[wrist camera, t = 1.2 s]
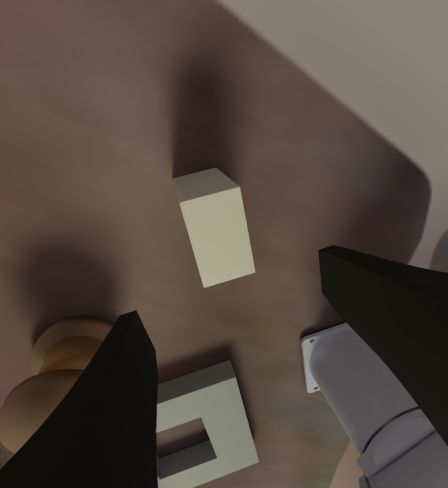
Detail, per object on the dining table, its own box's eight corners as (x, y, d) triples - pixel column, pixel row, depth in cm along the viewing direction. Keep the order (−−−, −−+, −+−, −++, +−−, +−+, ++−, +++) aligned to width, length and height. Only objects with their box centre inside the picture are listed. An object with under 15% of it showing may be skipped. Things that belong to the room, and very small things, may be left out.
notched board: (230, 359, 26) (235, 377, 25) (253, 443, 32) (258, 462, 31) (79, 410, 25) (73, 433, 23) (133, 488, 31) (132, 511, 29)
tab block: (215, 167, 19) (239, 186, 14) (229, 233, 21) (255, 272, 16) (172, 178, 19) (179, 202, 13) (191, 244, 21) (204, 287, 15)
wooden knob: (112, 304, 21) (97, 367, 16) (142, 367, 24) (139, 437, 19) (16, 333, 20) (-33, 409, 15) (60, 394, 24) (32, 475, 18)
